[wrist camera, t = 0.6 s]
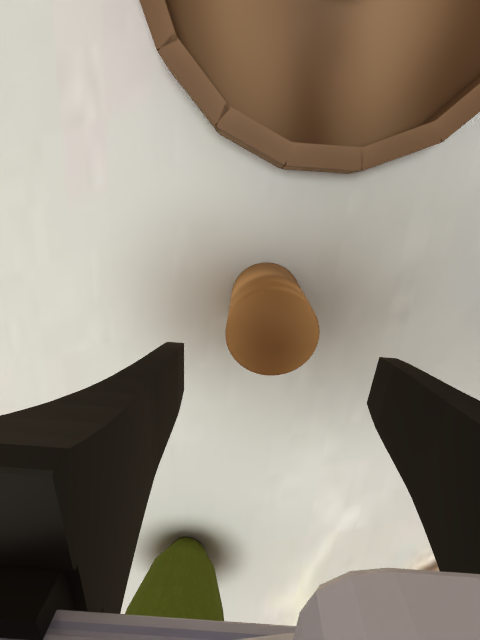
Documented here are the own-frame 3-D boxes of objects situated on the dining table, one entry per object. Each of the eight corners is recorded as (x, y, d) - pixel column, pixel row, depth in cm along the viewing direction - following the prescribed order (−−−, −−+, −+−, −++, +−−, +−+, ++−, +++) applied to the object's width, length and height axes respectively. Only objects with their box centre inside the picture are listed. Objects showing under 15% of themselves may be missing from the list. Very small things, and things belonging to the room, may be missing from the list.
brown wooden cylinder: (304, 265, 19) (326, 294, 14) (294, 329, 21) (311, 378, 15) (233, 260, 19) (228, 286, 14) (230, 324, 21) (223, 371, 15)
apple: (134, 560, 31) (73, 753, 20) (156, 506, 28) (100, 701, 17) (215, 581, 32) (198, 776, 21) (245, 532, 29) (244, 731, 18)
